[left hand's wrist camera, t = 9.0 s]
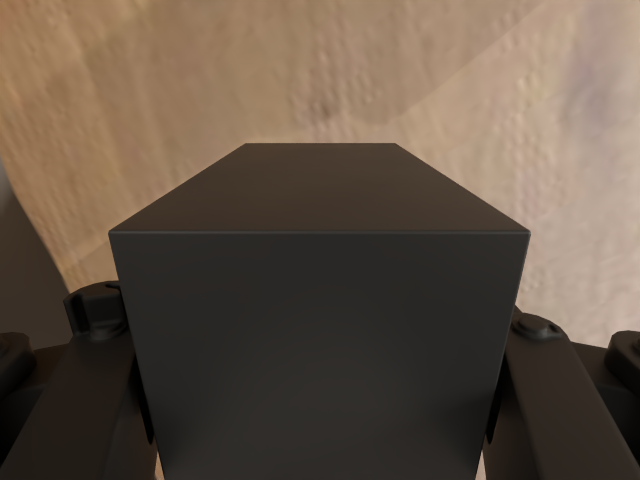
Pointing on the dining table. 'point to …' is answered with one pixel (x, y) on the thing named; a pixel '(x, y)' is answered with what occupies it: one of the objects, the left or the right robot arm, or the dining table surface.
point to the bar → (319, 315)
